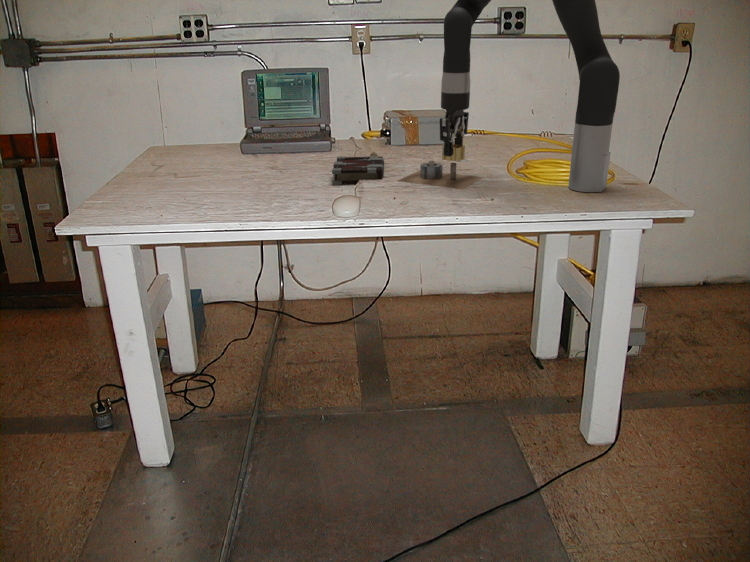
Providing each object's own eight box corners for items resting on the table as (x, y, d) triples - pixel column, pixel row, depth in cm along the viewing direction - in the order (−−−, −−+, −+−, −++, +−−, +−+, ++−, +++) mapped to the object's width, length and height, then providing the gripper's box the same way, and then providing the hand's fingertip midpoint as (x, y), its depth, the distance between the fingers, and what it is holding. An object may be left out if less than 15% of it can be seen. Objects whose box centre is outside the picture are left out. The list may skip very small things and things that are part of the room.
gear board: (483, 182, 175) (484, 161, 172) (463, 194, 164) (464, 172, 161) (419, 175, 184) (419, 154, 182) (397, 186, 173) (396, 164, 171)
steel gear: (442, 174, 178) (443, 162, 177) (441, 179, 173) (442, 167, 171) (421, 174, 179) (421, 162, 178) (419, 179, 174) (419, 167, 172)
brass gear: (468, 157, 171) (468, 144, 170) (459, 162, 166) (459, 148, 165) (447, 155, 174) (448, 143, 173) (438, 159, 169) (438, 147, 168)
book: (331, 186, 176) (330, 168, 174) (339, 166, 199) (338, 150, 197) (383, 185, 175) (383, 168, 173) (384, 165, 198) (384, 149, 196)
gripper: (457, 94, 156) (455, 160, 162) (479, 87, 167) (476, 150, 174) (430, 92, 159) (429, 157, 166) (453, 86, 171) (451, 147, 177)
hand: (453, 153), depth 170 cm, fingers closed on brass gear, 6 cm apart
